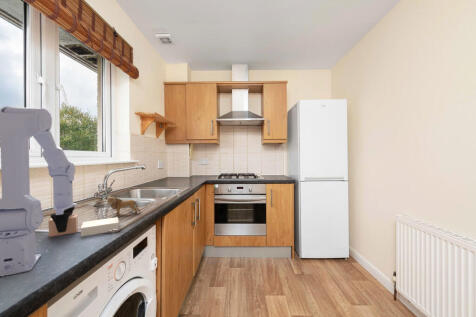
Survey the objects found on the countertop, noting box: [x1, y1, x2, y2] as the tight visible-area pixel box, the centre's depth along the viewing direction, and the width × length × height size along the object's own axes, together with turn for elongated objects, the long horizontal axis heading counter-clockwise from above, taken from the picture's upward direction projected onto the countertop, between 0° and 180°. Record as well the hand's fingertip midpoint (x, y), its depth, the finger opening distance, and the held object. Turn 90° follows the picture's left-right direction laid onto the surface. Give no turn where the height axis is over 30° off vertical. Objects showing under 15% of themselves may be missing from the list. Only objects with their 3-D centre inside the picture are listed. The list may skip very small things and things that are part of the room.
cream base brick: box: [80, 216, 120, 237], centre depth 83 cm, size 8×12×4 cm, turn 121°
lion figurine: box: [106, 196, 141, 217], centre depth 105 cm, size 15×5×9 cm, turn 119°
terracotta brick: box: [48, 213, 79, 237], centre depth 81 cm, size 4×8×6 cm, turn 120°
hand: (64, 228), depth 81 cm, fingers open, 7 cm apart
